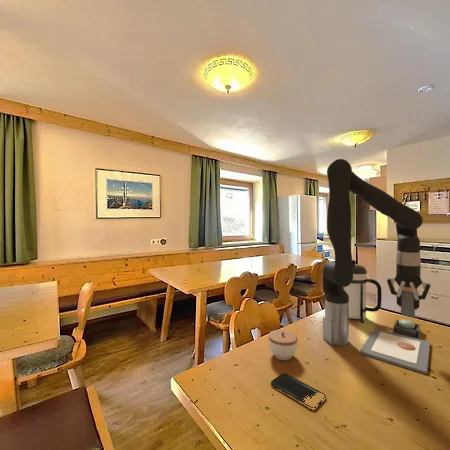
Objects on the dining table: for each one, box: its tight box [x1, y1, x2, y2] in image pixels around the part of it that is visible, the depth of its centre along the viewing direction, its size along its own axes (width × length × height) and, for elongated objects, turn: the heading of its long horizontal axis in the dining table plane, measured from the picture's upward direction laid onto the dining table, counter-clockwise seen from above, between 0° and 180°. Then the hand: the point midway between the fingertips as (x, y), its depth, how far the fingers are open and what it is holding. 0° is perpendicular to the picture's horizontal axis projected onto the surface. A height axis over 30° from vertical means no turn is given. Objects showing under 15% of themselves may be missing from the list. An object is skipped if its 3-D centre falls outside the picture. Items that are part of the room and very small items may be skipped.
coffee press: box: [343, 259, 383, 324], centre depth 130 cm, size 17×16×30 cm
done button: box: [398, 318, 416, 330], centre depth 114 cm, size 6×6×2 cm
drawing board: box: [359, 327, 431, 375], centre depth 100 cm, size 26×20×1 cm
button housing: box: [391, 319, 422, 339], centre depth 114 cm, size 10×10×3 cm
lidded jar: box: [268, 329, 299, 361], centre depth 96 cm, size 11×11×9 cm
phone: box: [270, 372, 327, 408], centre depth 77 cm, size 8×1×15 cm
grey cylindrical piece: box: [400, 286, 416, 318], centre depth 97 cm, size 5×5×11 cm
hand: (407, 307), depth 97 cm, fingers closed on grey cylindrical piece, 4 cm apart
